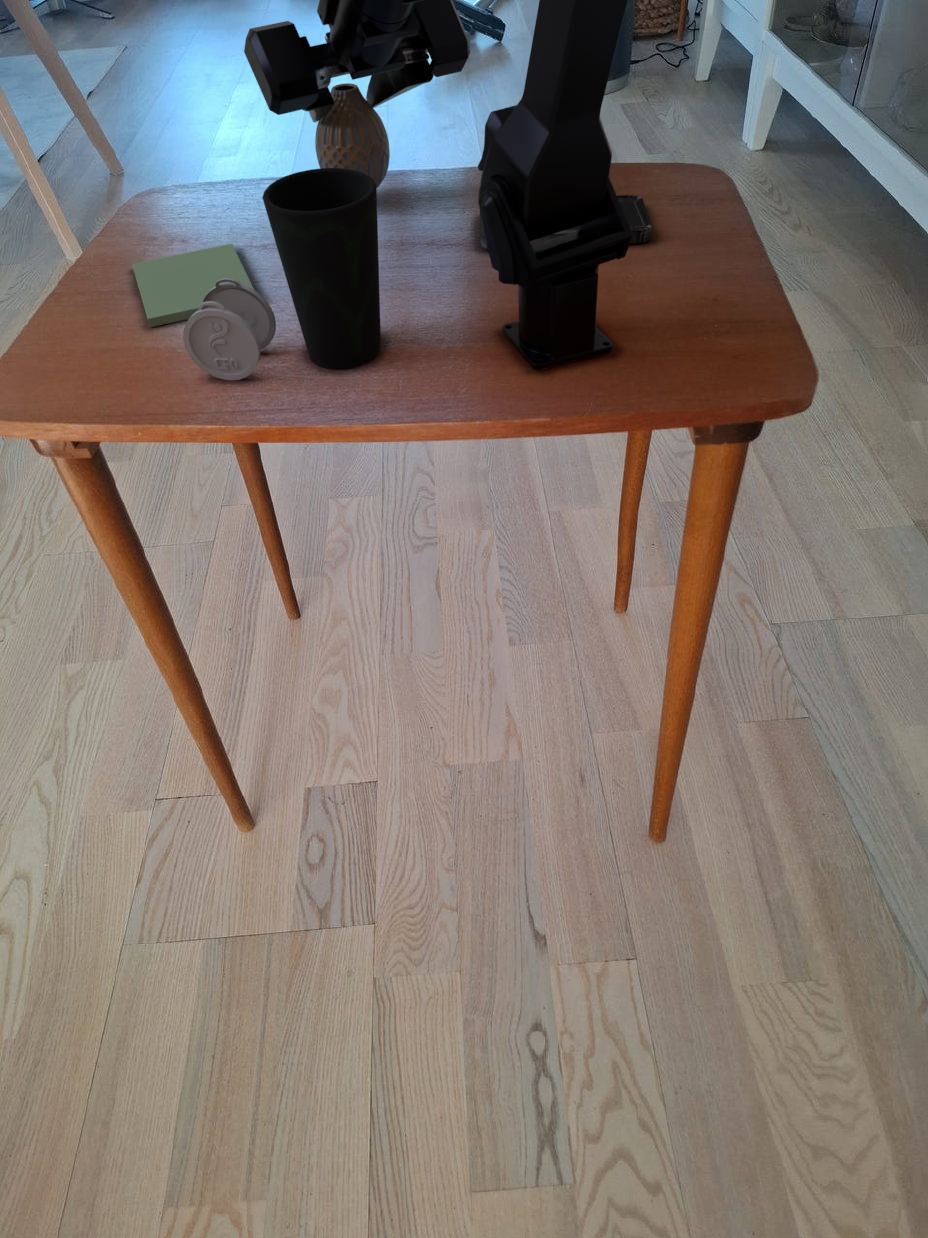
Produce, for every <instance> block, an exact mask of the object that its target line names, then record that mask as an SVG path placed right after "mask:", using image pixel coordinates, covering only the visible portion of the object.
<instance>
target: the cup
mask: <svg viewBox="0 0 928 1238" xmlns="http://www.w3.org/2000/svg"><path fill="white" fill-rule="evenodd" d="M377 189H378V188H377ZM377 189H376V183H375V181H374V180H373V179H372V178H371V177H369V176H368V175H367V174H365V173H362V172H359V171H356V170H351V169H343V168H321V169H320V168H313V169H306V170H302V171H297V172H294V173H291V174H287V175H285V176H282V177H281V178H278V179H276V180H275V181H274V182H271V184H269V185H268V186H267V188H265V190H264V191H263V194H262V200H263V205H264V207H265V211H266V212H265V213H266V215H267V218H268V221H269V225H270V228H271V231H272V235H273V238H274V242H275V245H276V249H277V252H278V255H279V259H280V262H281V265H282V270H283V272H284V276H285V279H286V283H287V286H288V290H289V293H290V296H291V299H292V303H293V306H294V309H295V313H296V316H297V319H298V323H299V327H300V330H301V334H302V336H303V340H304V343H305V347H306V350H307V353H308V357H309V359H310V361H311V362H312V363H313V364H314V365H316V366H317V367H320V368H323V369H328V370H334V371H337V370H339V371H343V370H351V369H356V368H359V367H363V366H365V365H367V364H369V363H370V362H372V361H374V360H375V359H376V358H377V357H378V356H379V355H380V353H381V350H382V335H381V334H382V333H381V331H382V330H381V302H380V301H381V300H380V267H379V266H380V265H379V260H380V259H379V229H378V227H379V226H378V225H379V224H378V197H377V196H378V193H377Z"/></svg>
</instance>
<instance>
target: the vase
mask: <svg viewBox="0 0 928 1238" xmlns="http://www.w3.org/2000/svg"><path fill="white" fill-rule="evenodd" d="M330 93H331V95H332V98H333V100H334V102H335V104H334V105H333V106H332V108H331V109H330V110H329V111H328V112H327V113H326V114H325V115H324V116H323V117H322V118H321V119H320V120H319V121H317V124H316V128H315V136H314V137H315V138H314V139H315V140H314V144H315V145H314V146H315V147H314V148H315V154H316V158H317V163H318V167H319V169H321V168H343V169H351V170H356V171H359V172H362V173H365V174H367V175H368V176H369V177H371V178H372V179H373V180H374V181H375V183H376V189H378V188H379V187H380V186H381V184H382V183H383V181H384V180H385V178H386V176H387V173H388V171H389V170H388V169H389V166H390V158H391V157H390V156H391V155H390V153H391V152H390V141H389V136H388V132H387V129H386V126H385V124H384V122H383V120H382V118H381V117H380V115H379V113H378V112H377V111H376V109H375V108H373V107H372V106H371V105H370V104H369V103H368V102H367V100H366V97H364V95H363V94H362V92H361V90H360V88H359V86H358V85H357V84H356V83H350V82H349V83H348V82H347V83H339V84H336V85H334V86H332V87H331V89H330Z"/></svg>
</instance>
